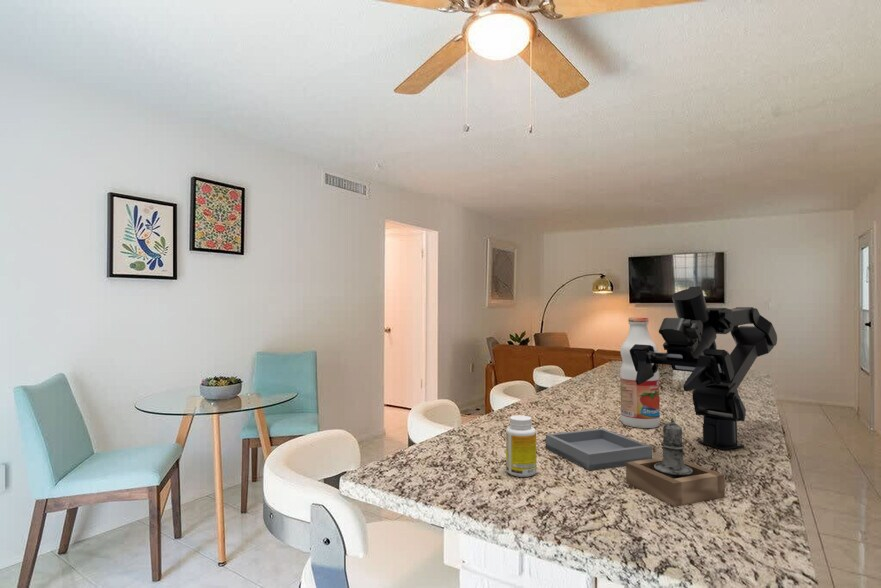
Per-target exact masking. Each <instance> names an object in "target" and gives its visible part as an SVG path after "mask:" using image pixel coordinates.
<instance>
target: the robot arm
mask: <svg viewBox="0 0 881 588" xmlns="http://www.w3.org/2000/svg"><path fill="white" fill-rule="evenodd" d="M671 298H672V302H673V305H674V309H675V313H676V316H677V317H666V318H663V320H662V321H661V325H660V327H659V329H658V334H659V335H661V336H662V339H663V340H664V343H663V344H662V346H663V349H664V351H666V352H659V351H658V352H655V351H654V348H653V346H651V345H639V344H635V345H634V346H633V347H632V348H631V349H630V350H629V351H630V355H631V358H632V361H633V364H634V367H635V370H636V371H637V376H636V383H637V385H640V384H642V383H644V382H645V381H647V380H649V379H650V378H652V377H653V376H654V373H656V372H657V370H658V371H659V365H666V366H671V370H672V371H679V372H689V373H690V375H689V376H688V377H687V378H686V380H685V382H684V384H683V386H682V388H683V391H684V392H690V391H692V402H693V407H694V413H695V415H696V416H702V417H703V422H702V439H698V440H697V443H699V444H700V443H701V444H703V445H706V446H710V447H713V448H716V449H719V450H724V451H725V450H731V449H739V448H744V447H745V445H744V444H743V443H740V442H738V422H745V421H746V415H747V414H746V413H747V412H746V411H747V409H746V406H745V405H744V403H743V401H742V399H741V396H740V394H739V390H738V388H739V387H740V385H741V384H742V382H743V380H744V379H745V377H746V376H747V374H748V373H749V371H750V369H751V367H752V366H753V364H754V363H755V361H756V359H757V358H759V357H762V356H764V355H768V354H769V353H770V352H771V351H772V350H773V349H774V347H775V346H777V344H778V343H777V342H778V334H777V332H776V330H775V327H774V325H773V323H772V322H771V321H769V320H768V319H767V318H765V317H764V316H763V315H761V314H760V311H759V310H758V308H756V307H753V306H742V307H741V306H739V307H738V306H737V307H733V308H729V307H728V308H727V307H707V302H706V299H705V296H704V291H703V290H702V289H701V287H700V286H689V287H688V288H686V289H682V290H679V291H677V292H673V294H672V296H671ZM749 324H751V325H753V326H750V325H749ZM748 325H749V326H748ZM729 333H730V334H731V337H732V339H733V340H734V343H735V347H734V348H733V349H732V351H731V353H729V352H728V351H727V350H725V349H719V348H718V349H717V343H716V339H717V335H727V334H729Z"/></svg>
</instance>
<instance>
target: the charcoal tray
mask: <svg viewBox="0 0 881 588" xmlns="http://www.w3.org/2000/svg"><path fill="white" fill-rule="evenodd" d="M545 449H546V450H548V451H551V452H552V453H554V454H556V455H558V456H560V457H562V458H563V459H565V460H568V461H570V462H571V463H574V464H576V465H577V466H579V467H580V468H583V469H585V470H587V471H596V470H603V469H609V468H611V469H612V468H617V467H624V466H625V467H626V462H632V461H639V460H646V459H653V446H652V445H649V444H648V443H647V444H646V443H644V442H642V441H639V440H636V439H633V438H630V437H627V436H624V435H623V434H619V433H616V432H614V431H611V430H608V429H605V428H603V427H602V428H601V427H600V428H594V429H593V428H591V429H584V430H583V429H582V430H574V431H563V432H556V433H546V434H545Z"/></svg>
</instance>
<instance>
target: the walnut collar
mask: <svg viewBox="0 0 881 588" xmlns="http://www.w3.org/2000/svg"><path fill="white" fill-rule="evenodd" d="M662 459H663V456H662V457H655V458H653V457H652V459H646V460H639V461H632V462H626V465H625V481H626V482H625V483H626V484H629V485H630V486H632V487H635V488H637V489H638V490H641V491H642V492H644V493H647V494H649V495H651V496H652V497H654V498H656V499H659V500H660V501H662V502H665V503H667V504H669V505H671V506H673V507H678V506H682V505H684V506H685V505H688V504H694V503H700V502H705V501H710V500H714V499H715V500H716V499H721V498H726V497H725V496H726V493H725V491H726V490H725V487H726V486H725V474H722V473H720V472H718V471H714V470H712V469H709V468H706V467H703V466H701V465H698V464H696V463H693V462H690V461H687V460H684V459H683V461H684V464H685V465H686V466H688V467H690V468H691V469H692V470H693V473H692V474H691V476H688V477H682V478H676V479H673V478H671V477H668V476H666V475H664V474H661V473H659V472H657V471H656V469H655V468H654V465H655V464H657V463H661V462H662Z"/></svg>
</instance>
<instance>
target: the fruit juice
mask: <svg viewBox="0 0 881 588" xmlns="http://www.w3.org/2000/svg"><path fill="white" fill-rule="evenodd" d="M627 322H628V324H629V330H628V334H627V337H626V339H625V340H624V341H623V343H622V344H621V346H620V357H621V359H622V360H621V361H622V363H621V365H620V373H619V375H620V377H619V378H620V380H619V381H620V382H619V383H620V388H619V389H620V420H621V423H622V424H623V425H624V426H627V427H631V428H636V429H637V428H638V429H655V428H658V427H659V426H660V424H661V418H660V416H661V415H660V414H661V412H660V411H661V410H660V409H661V407H660V373H659V372H660V370H659V369H658V370H657V372H656V373H654V376H653V377H652V378H650V379H649V380H647V381H645V382H644V383H642V384H640V385H637V383H636V376H637V371H636V370H635V367H634V364H633V361H632V358H631V355H630V351H629V350H630V349H631V348H632V347H633V346H634V345H635V344H639V345H651V346H653V348H654V351H655V352H659V351H658V347H657V345H656V343H655V342H654V341H653V340H652V338H651V336H650V333H649V330H648V324H649V317H638V316H636V317H628V320H627Z"/></svg>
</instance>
